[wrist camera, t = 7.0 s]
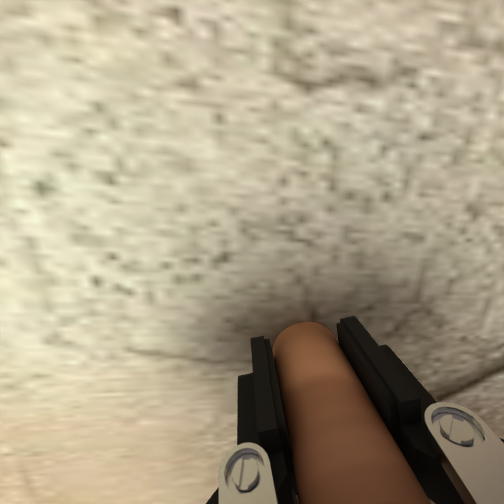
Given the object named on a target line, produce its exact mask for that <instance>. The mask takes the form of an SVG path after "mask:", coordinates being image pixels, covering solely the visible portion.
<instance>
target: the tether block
mask: <svg viewBox="0 0 504 504" xmlns="http://www.w3.org/2000/svg"><path fill="white" fill-rule="evenodd" d="M272 352H273V356H274V361H275V366H276V371H277V377H278V382H279V387H280V392H281V398H282V403H283V408H284V414H285V419H286V424H287V430H288V435H289V440H290V446H291V451H292V456H293V457H292V464H293V470H294V475H295V481H296V486H297V491H298V497H299V502H300V504H431V502H430V501H429V499H428V497H427V495H426V494H425V492H424V490H423V489H422V487H421V485H420V483H419V482H418V480H417V478H416V476H415V475H414V473H413V471H412V470H411V468H410V466H409V464H408V463H407V461H406V459H405V457H404V456H403V454H402V452H401V451H400V449H399V447H398V445H397V444H396V442H395V440H394V438H393V437H392V435H391V433H390V432H389V430H388V428H387V426H386V425H385V423H384V421H383V419H382V418H381V416H380V414H379V412H378V411H377V409H376V407H375V406H374V404H373V402H372V400H371V399H370V397H369V395H368V393H367V392H366V390H365V388H364V387H363V385H362V383H361V381H360V380H359V378H358V376H357V374H356V373H355V371H354V369H353V368H352V366H351V364H350V362H349V361H348V359H347V357H346V355H345V354H344V352H343V350H342V348H341V347H340V345H339V343H338V342H337V340H336V338H335V336H334V335H333V333H332V332H331V331H330V330H329V329H328V328H327V327H325V326H324V325H321V324H319V323H315V322H300V323H296V324H294V325H291V326H289V327H287V328H286V329H285V330H283V331H282V332H281V333H280V334H279V335H278V337H277V338H276V340H275V342H274V344H273V349H272Z"/></svg>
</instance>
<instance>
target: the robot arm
mask: <svg viewBox="0 0 504 504" xmlns="http://www.w3.org/2000/svg"><path fill="white" fill-rule="evenodd" d="M337 333H338V340H339V345H340V347H341V348H342V350H343V352H344V354H345V355H346V357H347V359H348V361H349V362H350V364H351V366H352V368H353V369H354V371H355V373H356V374H357V376H358V378H359V380H360V381H361V383H362V385H363V387H364V388H365V390H366V392H367V393H368V395H369V397H370V399H371V400H372V402H373V404H374V406H375V407H376V409H377V411H378V412H379V414H380V416H381V418H382V419H383V421H384V423H385V425H386V426H387V428H388V430H389V432H390V433H391V435H392V437H393V438H394V440H395V442H396V444H397V445H398V447H399V449H400V451H401V452H402V454H403V456H404V457H405V459H406V461H407V463H408V464H409V466H410V468H411V470H412V471H413V473H414V475H415V476H416V478H417V480H418V482H419V483H420V485H421V487H422V489H423V490H424V492H425V494H426V495H427V497H428V499H429V501H430V502H431V504H504V440H503V439H501V438H499V437H498V436H497V435H496V434H495V433H494V432H493V430H492V429H491V428H490V427H489V426H488V425H487V424H486V423H485V422H484V421H483V420H482V419H481V418H480V417H479V416H478V415H477V414H475V413H474V412H472V411H471V410H469V409H467V408H465V407H463V406H460V405H458V404H454V403H449V402H438V403H437V402H436V401H435V400H434V399H433V398H432V396H431V395H430V394H429V393H428V392H427V391H426V389H425V388H424V387H423V386H422V385H421V384H420V382H419V381H418V380H417V379H416V378H415V377H414V375H413V374H412V373H411V372H410V371H409V370H408V368H407V367H406V366H405V365H404V364H403V363H402V361H401V360H400V359H399V358H398V357H397V356H396V354H395V353H394V352H393V351H392V350H391V349H390V348H389V347H388V346H387V345H381V346H379V345H378V344H377V343H376V342H375V340H374V339H373V338H372V337H371V336H370V334H369V333H368V332H367V331H366V329H365V328H364V327H363V326H362V324H361V323H360V322H359V321H358V319H357V318H356V317H355V316H352V317H347V318H343V319H340V323H337ZM251 349H252V363H253V373H250V374H246V375H241V376H238V424H237V446H235V447H234V448H233V449H232V450H230V451H229V452H228V453H227V455H226V456H225V458H224V459H223V461H222V464H221V466H220V471H219V487H218V488H217V490H216V491H215V492H214V494H213V495H212V496H211V498H210V499H209V500H208V502H207V503H206V504H297V502H296V495H298V491H297V486H296V481H295V475H294V470H293V464H292V457H293V456H292V451H291V446H290V440H289V435H288V430H287V424H286V419H285V414H284V408H283V403H282V398H281V392H280V387H279V382H278V377H277V371H276V366H275V361H274V356H273V352H272V347H271V343H270V339H269V338H268V339H264V336H260V337H255V338H251Z"/></svg>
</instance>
